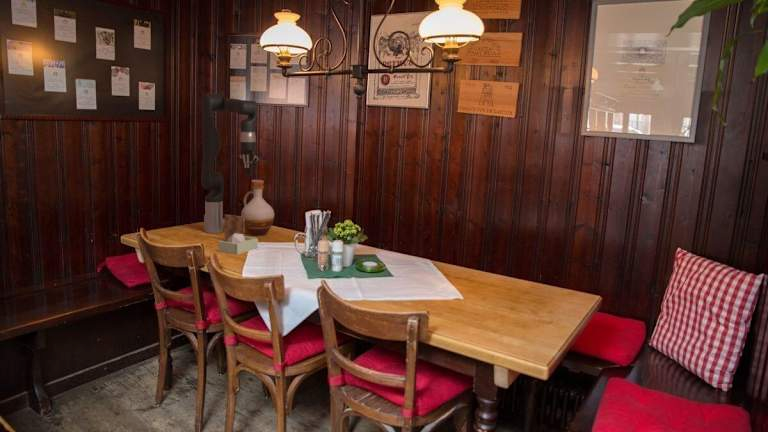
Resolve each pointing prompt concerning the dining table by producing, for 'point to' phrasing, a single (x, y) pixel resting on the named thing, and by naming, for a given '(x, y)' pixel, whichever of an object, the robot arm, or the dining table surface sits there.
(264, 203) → the jug
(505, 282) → the dining table surface
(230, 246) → the tray
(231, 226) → the menu board
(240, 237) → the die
